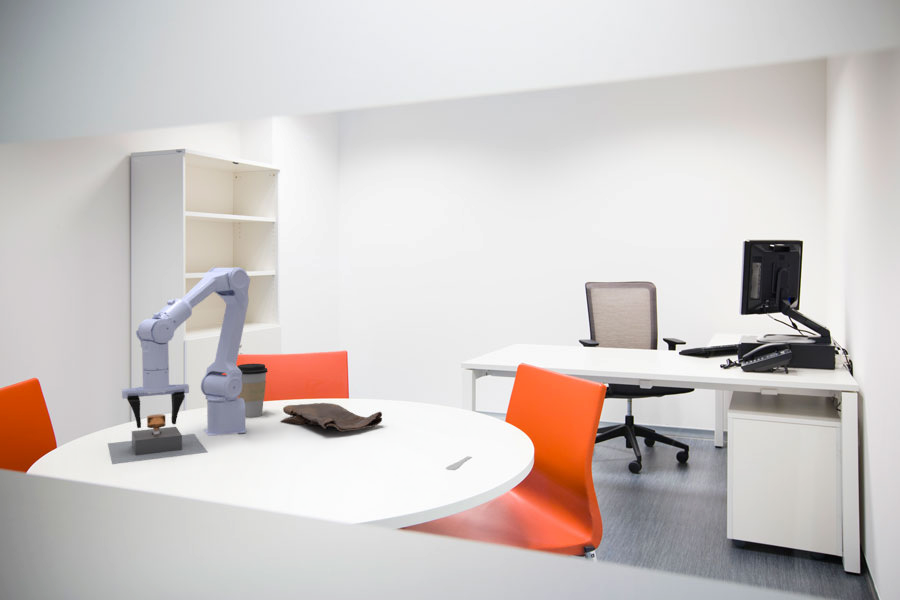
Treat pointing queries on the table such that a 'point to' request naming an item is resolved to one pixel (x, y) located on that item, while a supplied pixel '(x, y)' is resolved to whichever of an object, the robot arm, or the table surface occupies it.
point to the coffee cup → (253, 388)
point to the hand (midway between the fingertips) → (156, 425)
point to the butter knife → (457, 464)
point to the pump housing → (156, 441)
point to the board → (125, 453)
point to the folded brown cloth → (329, 416)
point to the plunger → (156, 422)
